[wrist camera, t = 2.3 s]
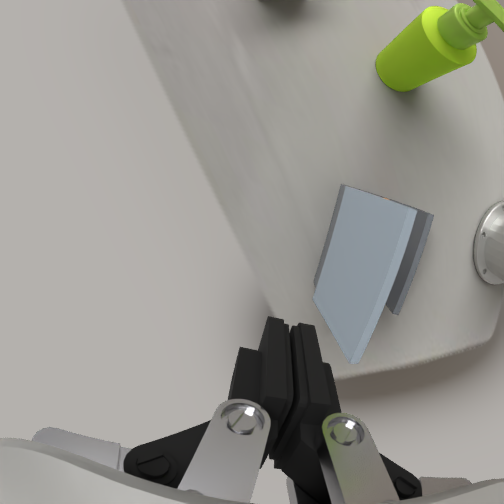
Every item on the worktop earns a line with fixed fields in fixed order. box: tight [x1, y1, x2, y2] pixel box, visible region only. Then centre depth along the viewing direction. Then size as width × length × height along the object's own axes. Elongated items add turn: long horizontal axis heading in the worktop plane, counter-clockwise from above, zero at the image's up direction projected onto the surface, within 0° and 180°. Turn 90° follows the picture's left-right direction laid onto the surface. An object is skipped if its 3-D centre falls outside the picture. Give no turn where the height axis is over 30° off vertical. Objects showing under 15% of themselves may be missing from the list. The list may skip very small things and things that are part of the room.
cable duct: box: [314, 184, 434, 315], centre depth 31 cm, size 10×12×5 cm
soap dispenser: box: [376, 0, 504, 92], centre depth 17 cm, size 6×7×20 cm
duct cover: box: [313, 186, 417, 364], centre depth 23 cm, size 11×12×1 cm
